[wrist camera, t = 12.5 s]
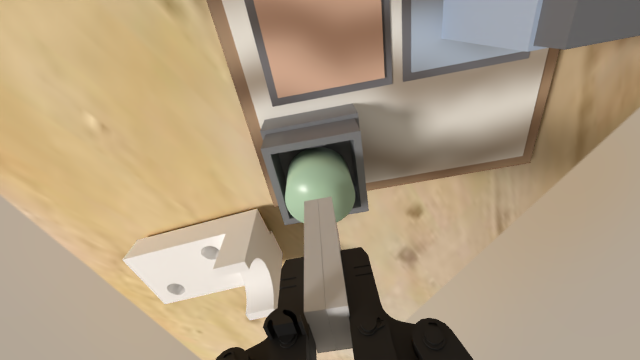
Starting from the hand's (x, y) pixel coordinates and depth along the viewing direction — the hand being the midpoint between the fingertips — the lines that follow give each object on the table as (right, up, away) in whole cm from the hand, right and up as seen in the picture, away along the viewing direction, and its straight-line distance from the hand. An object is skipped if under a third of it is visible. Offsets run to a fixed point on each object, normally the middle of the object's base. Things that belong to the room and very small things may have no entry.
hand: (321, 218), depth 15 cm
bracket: (-12, -5, +14) cm, 19 cm away
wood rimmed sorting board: (+6, +11, +6) cm, 13 cm away
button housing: (0, +5, +8) cm, 10 cm away
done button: (0, +3, +4) cm, 5 cm away
